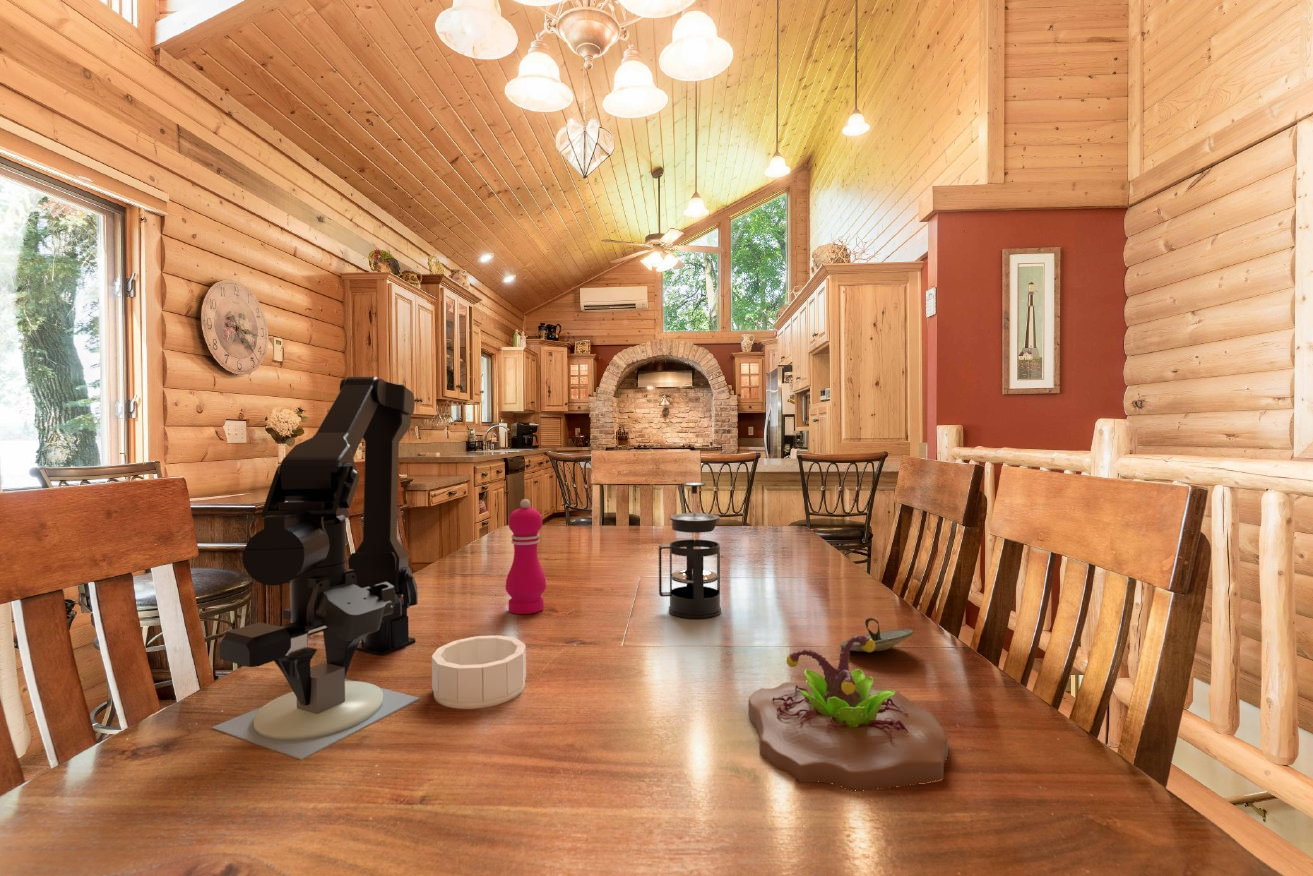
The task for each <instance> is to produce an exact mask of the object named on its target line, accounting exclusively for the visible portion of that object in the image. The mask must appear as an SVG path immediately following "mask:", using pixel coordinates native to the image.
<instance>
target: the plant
mask: <svg viewBox="0 0 1313 876" xmlns="http://www.w3.org/2000/svg"><path fill="white" fill-rule="evenodd" d="M848 640H849V639H848ZM855 642H859V643H860V646H861V648H862V649H863V650H865V651H864V652H867V653H872V652H874V651H873V650H874V649H875V642H874V641H873V640H872V639H871V638H870V637H867V636H863V635H861V634H858V635H853V636H851V638H850V640H849V641H848V642H847V643H846V645H845V647H844V648H842V651H841V652H840V654H839V657H840V658H839V659H838V660H839V661H838V665H837V667H834V666H832V664H830V663H829V661H828V660H827V658H826V657H823V656H822V655H821V654H819V653H818V652H815V651H812V650H811V649H809V650H808V649H802V650H798V651H797V652H796V651H795V652H793V653H790V654H789V655H788V656H787V657H786V664H787V666H789V667H790V668H795V667H797V666H798V664H799V659H800V656H807V657H808V656H809V657H811V658H812V659H814V660H815V661H816V662H818V666H820V667H821V669H822V671H823V676H824V677H823V676H822V675H821V674H819V673H817V672H815V671H813V670H810V669H807V668H806V669H805V670H804V672H803V674H804V676H805V677H806V679H807V680H805V682H801V683H800V682H783V683H781V684H779V685H778V686H777V687H773V688H759V689H757V690H756V691H754V692H753V693H752V694H751V695H750V696H749V699H748V702H747V703H748V709H747V710H748V712H747V713H748V718H749V720H750V722H751V724H752V725H753V726H754V728H755V729H756V730H755V731H757V735H758V737H759V745H758V746H759V751H758V752H759V755H760V756H761V757H763V758H764V759H766V760H767V761H768V762H769V763H770V765H772V767H775V769H777V770H779V771H782V772H783V773H786V774H788V775H790V776H791V777H793V778H794V779H795V781H796V783H798V784H800V783H801V785H806V784H805V783H809V784H812V783H811V782H818V781H819V782H826V783H833V784H834V785H833V786H835V785H838V786H842V787H843V788H842V789H844V788H846V789H845V790H847V789H849V790H848V791H850V790H852V791H851V792H864V791H863V790H869V791H873V790H872V789H877V788H879V789H878V790H881V789H880V788H888V789H890V788H889V787H896V786H903V787H907V786H906V785H910V784H911V785H912V786H916V785H915V784H919V783H927V782H930V781H931V782H932V781H935V780H936V781H937V780H940V779H942V778H943V779H944V766H945V764H944V762H945V760H946V759H947V757H948V758H949V742H948V737H947V735H948V734H947V733H946V730H945V729H944V727H943V726H941V724H940V723H939V721H938V719H936V717H935V716H934V714H933V713H932V712H930V711H929V710H925V709H923V708H922V707H920V706H917V705H916V704H915V703H913V702H912V701H911V700H910V699H908V698H907V697H906V696H905V695H904V694H902V693H901V692H899V691H896V690H891V689H886V688H882V687H878V686H874V685H873V683H874V678H873V677H872V676H868V677H866V675H865V673H864V672H863V670H862V669H860V668H859V669H854V670H853V671H850V667H849V665H850V664H849V663H850V662H849V660H850V652H851V651H852V650H851V648H852V645H853V644H854V643H855ZM947 760H948V759H947ZM945 763H946V762H945ZM803 783H804V784H803ZM826 783H825V784H826ZM913 784H914V785H913ZM904 785H905V786H904ZM838 786H837V787H838ZM896 788H897V787H896ZM870 789H871V790H870ZM855 790H856V791H855Z"/></svg>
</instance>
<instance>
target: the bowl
mask: <svg viewBox="0 0 1313 876" xmlns="http://www.w3.org/2000/svg"><path fill="white" fill-rule="evenodd" d="M526 649H527V645H526V644H525V643H524V642H522V641H521V640H520V639H518V638H515V637H511V636H504V635H499V634H498V635H478V636H477V635H475V636H470V637H466V638H460V639H456V640H453V641H451V642H448V643H446V644H444V645H442V646H440V647H438V648H437V649H436V650H435V651H434V652H433V654H432V655H431V690H432V691H433V698H434V700H435V702H436V703H438V704H440V705H441V706H443V707H447V708H452V709H457V710H458V709H460V710H473V709H474V710H475V709H477V710H478V709H485V708H489V707H493V706H497V705H501V704H503V703H507V702H509V701H510V700H513V699H515V698H516V697H518V696H519V695H521V693H522V692H523V691H524V690H525V687H526V678H527V652H526V651H527V650H526Z"/></svg>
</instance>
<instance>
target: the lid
mask: <svg viewBox="0 0 1313 876" xmlns="http://www.w3.org/2000/svg"><path fill="white" fill-rule="evenodd" d="M872 621H874V622H875V623H876V624H877V625H878V627H877V632H874V631H872V630H870V629H869V628H868V627H869V622H872ZM864 623H865V628H866V630H867V631H868V633H867V634H864V635H862V636H867V637H870V638H871V639H872V640H873V641H874V642H875V649H874V650H873V651H872V652H882V651H887V650H888V649H890V648H893V647H895V646H896V645H898V644H900V643H902V642H904V641H905V640H907V639H908V638H910V637H911V636H912V635H913V634H914V633H915V632H914V630H913V629H910V628H904V629H903V628H902V629H892V630H885V631H884V630H883V631H880V624H879V621H878V620H877V619H875V618H873V617H869V618H867V619H865V622H864ZM850 639H851V638H850ZM850 639H847V640H845V641H843V642H841V643H840V644H839V646H840V647H841V648H842V649H843V648H844V647H845V645H846V643H847V642H848V641H849V640H850ZM850 651H851V652H866V651H865V650H863V649H862V648H861V646H860V643H859V642H855V643H854V644H853V645H852V648H851V650H850Z"/></svg>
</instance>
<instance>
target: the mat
mask: <svg viewBox="0 0 1313 876" xmlns="http://www.w3.org/2000/svg"><path fill="white" fill-rule="evenodd" d="M345 681H353V680H352V679H347V678H345ZM379 688H380V689H381V690H382V692H383V704H382V707H381V708H380V709H379V711H378V712H377V713H376V714H374V715H373V716H372V717H370V718H369V719H367V720H366V721H364V722H362V723H360V724H358V725H356V726H354V727H351V728H349V729H346V730H343V731H340V732H337V733H334V734H330V735H327V736H322V737H317V738H312V739H305V740H294V741H280V740H272V739H267V738H264V737H262V736H260V735H258V734H257V733H256V732H255V730H254V717H255V714H256V713H257V712H258V710H260V709H261V708H262V707H263V706H260V707H258V708H256V709H252V710H251V711H249V712H246V713H244V714H241V715H237V716H236V717H234V718H231V719H229V720H227V721H224V722H221V723H219V724H217V725H215V726H212V727H211V729H213V730H216V731H218V732H220V733H223V734H227V735H229V736H233V737H235V738H237V739H240V740H243V741H246V742H249V743H252V744H255V745H257V746H261V747H263V748H266V749H269V750H272V751H274V752H277V753H281V754H283V755H286V756H289V757H290V758H294V759H297V760H299V761H302V760H304V759H306V758H308V757H310V756H312V755H314V754H316V753H318V752H320V751H322V750H324V749H326V748H328V747H331V745H334V744H336V743H338V742H340V741H342V740H344V739H346V738H348V737H350V736H351V735H354V734H356V733H357V732H359V731H361V730H363V729H365V728H368V727H369V726H371V725H373V724H375V723H377V722H379V721H381V720H383V719H385V718H387V717H389V716H390V715H393V714H395V713H397V712H398V711H399V712H400V710H402V709H405V708H406V707H409V706H410V705H412V704H414V703H416V702H418V701H421V698H420V697H417V696H413V695H409V694H406V693H402V692H398V691H394V690H390V689H386V688H382V687H379Z"/></svg>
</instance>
